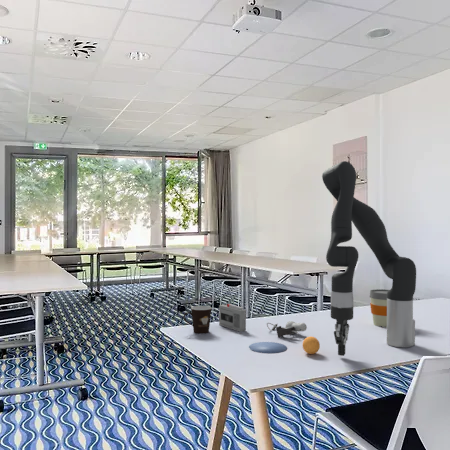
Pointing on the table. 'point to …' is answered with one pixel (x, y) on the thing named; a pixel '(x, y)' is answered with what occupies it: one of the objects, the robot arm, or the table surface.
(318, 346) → the ball
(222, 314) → the cassette player
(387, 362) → the table surface
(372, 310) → the reusable coffee cup
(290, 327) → the clip-on lamp
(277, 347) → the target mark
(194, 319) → the coffee mug
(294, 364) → the table surface
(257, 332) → the table surface
